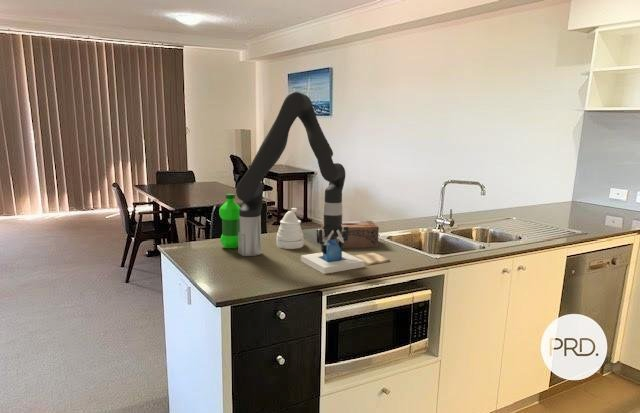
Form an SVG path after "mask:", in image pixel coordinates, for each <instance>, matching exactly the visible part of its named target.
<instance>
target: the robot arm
mask: <svg viewBox="0 0 640 413" xmlns="http://www.w3.org/2000/svg"><path fill="white" fill-rule="evenodd" d="M297 118H298V119H299V120H300V121H301V123H302V125H303V126H304V129H305V131H306V134H307V139H308V140H307V141H308V143H309V145H310V148H311V150H312V152H313V154H314V156H315V158H316V159H317V164H318V169H319V172H320V174H321V176H322V178H323V179H324V180H325V181H326V182H327V183H328V186H327V187H326V188H325V189H324V204H323V221H324V228H323V229H321V228H317V229H316V244H320V245H321V246H320V247H321V249H320V251H321V252H322V253H323V254H326V251H327V245H326V244H327V242H328V241H329V239H330V238H332V237H333V236H336V238H337V239H338V241H339V242H338V245H339V246H340V248H341V250H342V251H344V248H343V243H344V241H347V240H348V227H347V226H343V227H342V226H341V224H342V221H343V189H344V185H345V180H346V168H345V167H344V165H343V164H341V163H339V162H337V163H336V162H335V163H334V161H333V158H332V157H333V156H334V152H333V149H332V147H331V145H330V143H329V141H328V140H327V138H326V136H325V133H324V132H323V129H322V127H321V126H320V123H319V120H318V117H317V116H316V112H315V109H314V106H313V103H312V101H311V98H310V97H309V96H308V95H307V94H305V93H302V92H298V91H292V92H290V93H288V94H287V95H286V97H285V99H284V100H283V102H282V104H281V107H280V109H279V112H278V113H277V117H276V118H275V121H274V122H273V124H272V126H271V127H270V129H269V131H268V133H267V135H266V136H265V137H264V139H263V141H262V142H261V144H260V146H259V148H258V151H257V153H256V154H255V155H254V156H255V157H254V158H253V160H252V162H251V164H250V165H249V167H248V169H247V170H246V172H245V173H244V175H243V176H242V178H241V179H240V181H239V182H238V183H237V185H236V188H235V192H236V193H235V195H236V197H237V198H238V199H239V200H240V201H242V204H241V206H240V207H241V208H240V210H239V229H240V232H238V247H237V248H238V249H237V250H238V254H239V255H241V257H255V256H259V255H261V254H262V242H261V241H262V238H261V236H262V228H261V227H262V226H261V222H262V220H261V216H262V214H261V212H262V209H263V196H264V195H263V192H264V191H263V185H262V183H261V182H262V180H263V179H264V177H265V176H266V175H267V173H269V171H270V170H272V168H273V167H274V166H275V165H276V164H277V162H278V161H279V159H280V158H281V156H282V154H283V152H284V151H285V149H286V147H287V143H288V139H289V135H290V134H289V133H290V130H291V129H292V125H293V124H294V122H295V121H296V119H297ZM341 231H342V235H341V234H340V232H341ZM323 232H324V233H325V234H324V236H323V239H322V234H323Z"/></svg>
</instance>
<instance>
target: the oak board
mask: <svg viewBox="0 0 640 413" xmlns="http://www.w3.org/2000/svg"><path fill="white" fill-rule="evenodd" d="M353 256H354V257H356V258H359V259H361V260H363V261H364V265H366V266H369V265H376V264H382V263H387V262H391V259H390V258H388V257H386V256H383V255H381V254H378V253H375V252H368V253H361V254H356V255H355V254H354V255H353Z"/></svg>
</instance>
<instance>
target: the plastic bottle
mask: <svg viewBox="0 0 640 413" xmlns="http://www.w3.org/2000/svg"><path fill="white" fill-rule="evenodd" d="M225 199H226V201H225V203H223V204H222V205H221V206H220V207H219V210H218V212H219V213H218V214H219V217H220V219H221V223H222V224H221V225H222V226H221V228H222V229H221V230H222V234H221V236H220V243H221V245H222V246H223V247H224V248H226V249H227V248H234V249H237V248H238V232H240V226H239V210H240V208H241V206H240V205H239V204H238V203H236V202H235V199H236V193H225ZM236 247H237V248H236Z"/></svg>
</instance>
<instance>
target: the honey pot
mask: <svg viewBox="0 0 640 413" xmlns="http://www.w3.org/2000/svg"><path fill="white" fill-rule="evenodd" d="M297 211H298V208H297V207H291V210H289V211H287V212H286V213H285V214H284V216H283V217H282V219H281V220H279V223H280V225H279V227H278V230H277V233H276V247H277V248H279V249H283V250H284V249H285V250H295V249H300V248H302V247H304V233H303V230H302V226H301V223H302V220H300V219H299V218H298V217H297V215H296V214H295V213H296V212H297Z"/></svg>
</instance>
